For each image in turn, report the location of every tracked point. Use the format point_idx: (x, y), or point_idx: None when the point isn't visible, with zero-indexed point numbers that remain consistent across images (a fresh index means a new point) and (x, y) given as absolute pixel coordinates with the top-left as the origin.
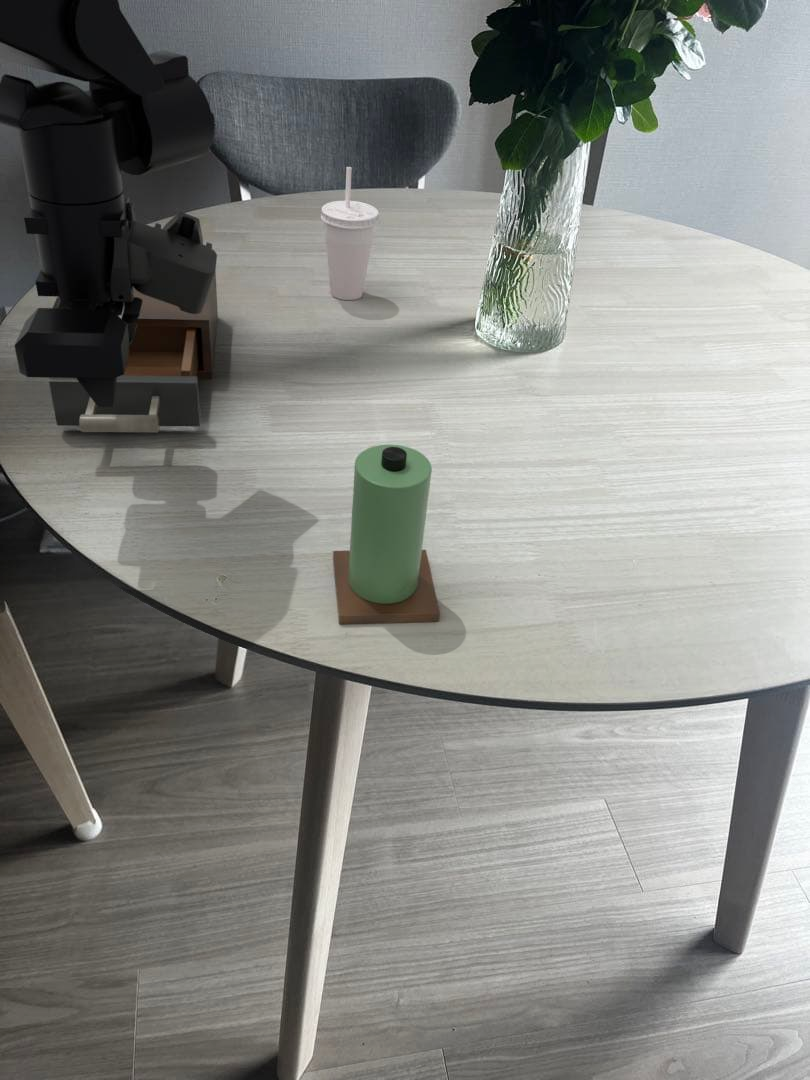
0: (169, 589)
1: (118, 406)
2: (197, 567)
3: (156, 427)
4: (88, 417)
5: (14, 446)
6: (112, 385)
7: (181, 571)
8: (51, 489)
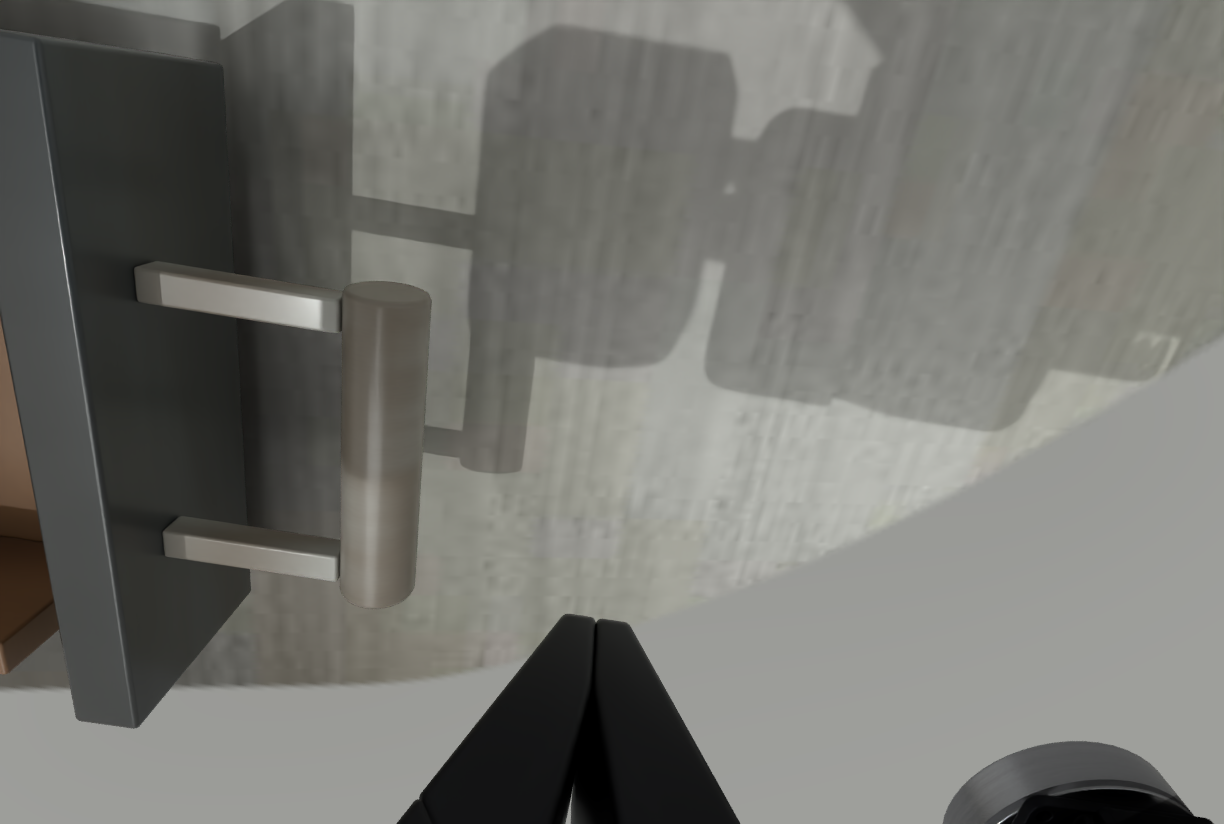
0: (1206, 289)
1: (189, 433)
2: (1138, 182)
3: (429, 301)
4: (379, 581)
5: (337, 672)
6: (699, 755)
7: (1133, 241)
8: (574, 589)
